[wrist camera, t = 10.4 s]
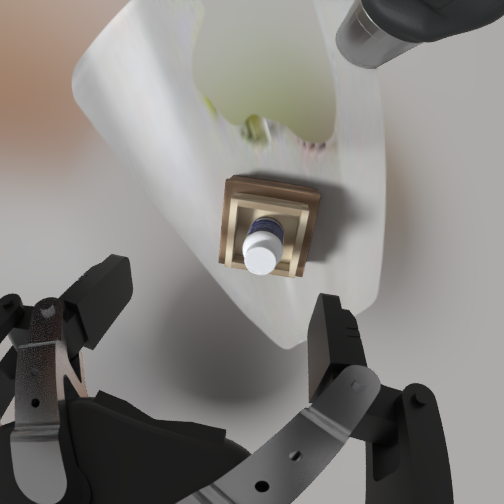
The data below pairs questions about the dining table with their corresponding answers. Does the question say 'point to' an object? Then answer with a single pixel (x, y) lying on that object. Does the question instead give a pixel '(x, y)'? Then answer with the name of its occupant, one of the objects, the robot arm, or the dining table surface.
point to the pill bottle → (263, 245)
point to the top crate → (255, 206)
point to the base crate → (272, 191)
